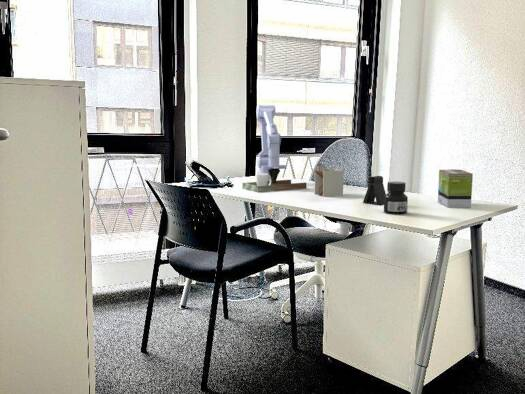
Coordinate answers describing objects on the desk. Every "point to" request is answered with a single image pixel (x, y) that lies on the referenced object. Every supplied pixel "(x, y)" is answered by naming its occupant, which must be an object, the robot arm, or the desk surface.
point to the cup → (262, 179)
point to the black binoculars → (375, 191)
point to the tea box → (455, 188)
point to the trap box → (273, 186)
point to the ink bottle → (395, 198)
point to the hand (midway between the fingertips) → (273, 183)
